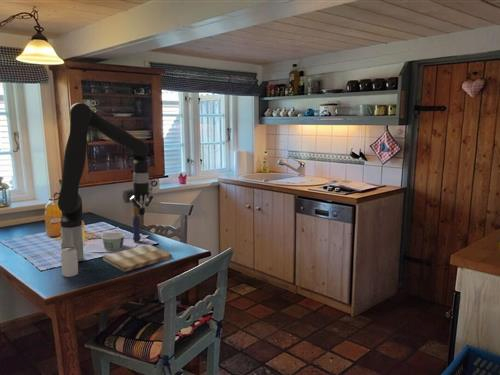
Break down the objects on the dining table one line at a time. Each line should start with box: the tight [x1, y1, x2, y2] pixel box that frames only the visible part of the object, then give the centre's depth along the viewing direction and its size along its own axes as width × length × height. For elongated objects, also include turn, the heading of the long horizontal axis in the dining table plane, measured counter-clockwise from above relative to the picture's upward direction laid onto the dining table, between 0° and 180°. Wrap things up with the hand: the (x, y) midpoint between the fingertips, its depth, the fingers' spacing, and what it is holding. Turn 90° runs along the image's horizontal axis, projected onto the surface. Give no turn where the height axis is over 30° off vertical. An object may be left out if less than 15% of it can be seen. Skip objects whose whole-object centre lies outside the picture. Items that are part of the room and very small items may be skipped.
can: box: [60, 246, 79, 278], centre depth 179 cm, size 6×6×12 cm
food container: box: [100, 231, 126, 251], centre depth 217 cm, size 12×12×6 cm
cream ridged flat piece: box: [102, 244, 161, 266], centre depth 204 cm, size 26×10×2 cm, turn 136°
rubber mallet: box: [122, 188, 147, 243], centre depth 224 cm, size 12×8×30 cm, turn 129°
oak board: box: [112, 248, 173, 273], centre depth 197 cm, size 26×10×2 cm, turn 136°
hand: (141, 214), depth 207 cm, fingers closed
